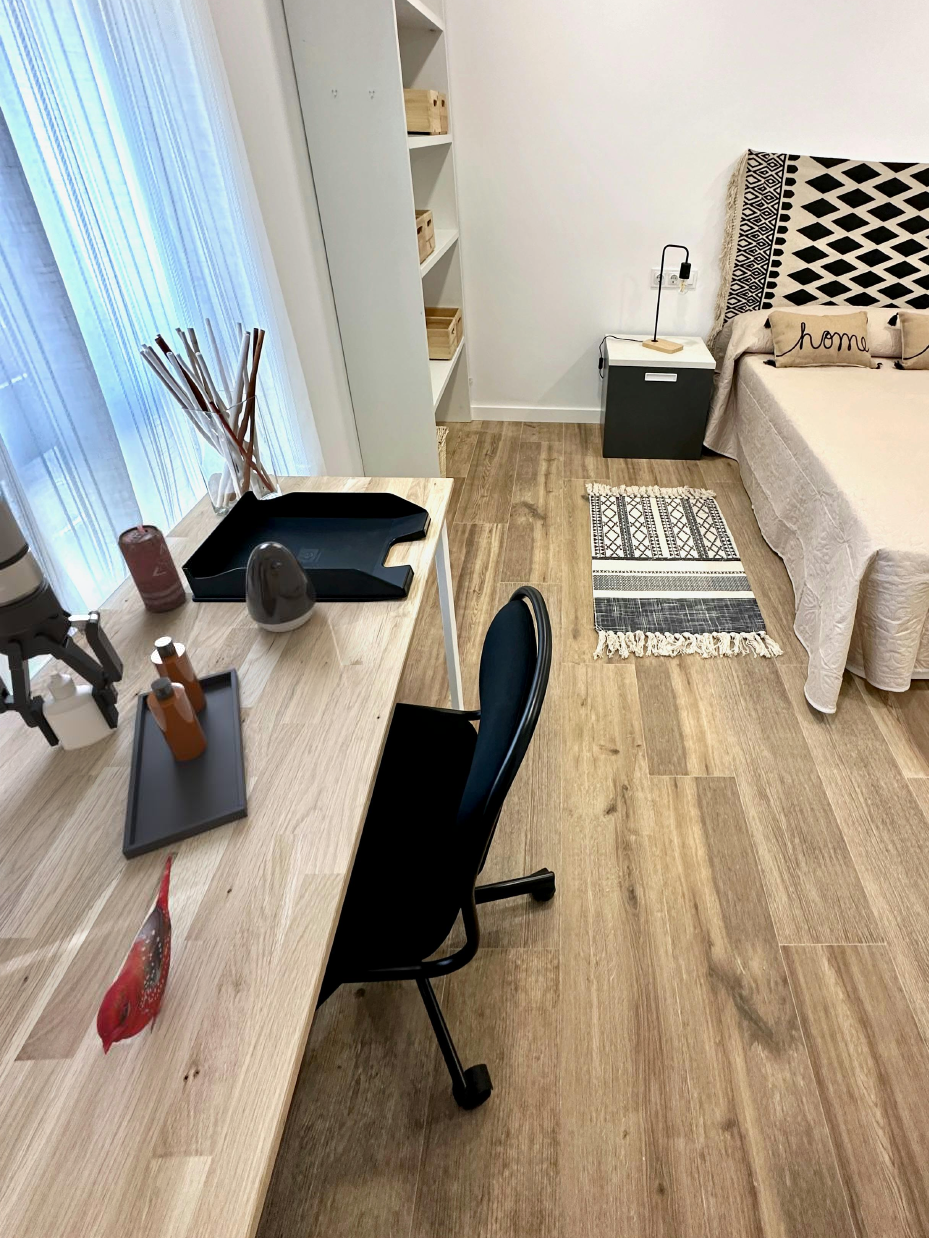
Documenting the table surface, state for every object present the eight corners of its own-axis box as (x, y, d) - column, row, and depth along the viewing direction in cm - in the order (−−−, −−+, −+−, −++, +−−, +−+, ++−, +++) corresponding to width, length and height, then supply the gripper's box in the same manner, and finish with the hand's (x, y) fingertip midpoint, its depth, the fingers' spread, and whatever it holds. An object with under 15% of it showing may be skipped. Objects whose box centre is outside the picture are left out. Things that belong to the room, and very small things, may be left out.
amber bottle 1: (174, 700, 89) (146, 636, 83) (206, 691, 91) (180, 627, 84) (174, 720, 86) (144, 656, 80) (206, 711, 88) (180, 646, 81)
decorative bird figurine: (120, 1097, 54) (73, 1049, 48) (173, 890, 68) (141, 836, 63) (158, 1086, 54) (116, 1037, 49) (202, 883, 69) (173, 829, 63)
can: (181, 585, 112) (155, 518, 104) (190, 604, 108) (163, 535, 100) (142, 599, 109) (112, 530, 101) (149, 618, 104) (119, 548, 97)
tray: (143, 705, 89) (138, 694, 88) (238, 677, 94) (234, 667, 93) (128, 863, 70) (121, 852, 69) (249, 819, 75) (244, 808, 74)
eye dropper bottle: (105, 750, 83) (69, 684, 76) (58, 753, 82) (18, 687, 76) (121, 723, 86) (88, 658, 80) (77, 726, 86) (39, 661, 79)
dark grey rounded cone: (265, 651, 99) (240, 573, 91) (246, 617, 105) (221, 541, 97) (330, 625, 104) (312, 548, 96) (307, 593, 111) (289, 520, 103)
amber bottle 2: (173, 742, 83) (142, 677, 77) (207, 732, 85) (179, 667, 78) (172, 766, 80) (139, 700, 74) (207, 754, 82) (178, 688, 75)
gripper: (-118, 635, 64) (-11, 779, 77) (100, 586, 72) (166, 725, 84) (-93, 593, 70) (3, 733, 82) (107, 552, 77) (168, 687, 90)
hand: (85, 729), depth 83 cm, fingers closed on eye dropper bottle, 6 cm apart
